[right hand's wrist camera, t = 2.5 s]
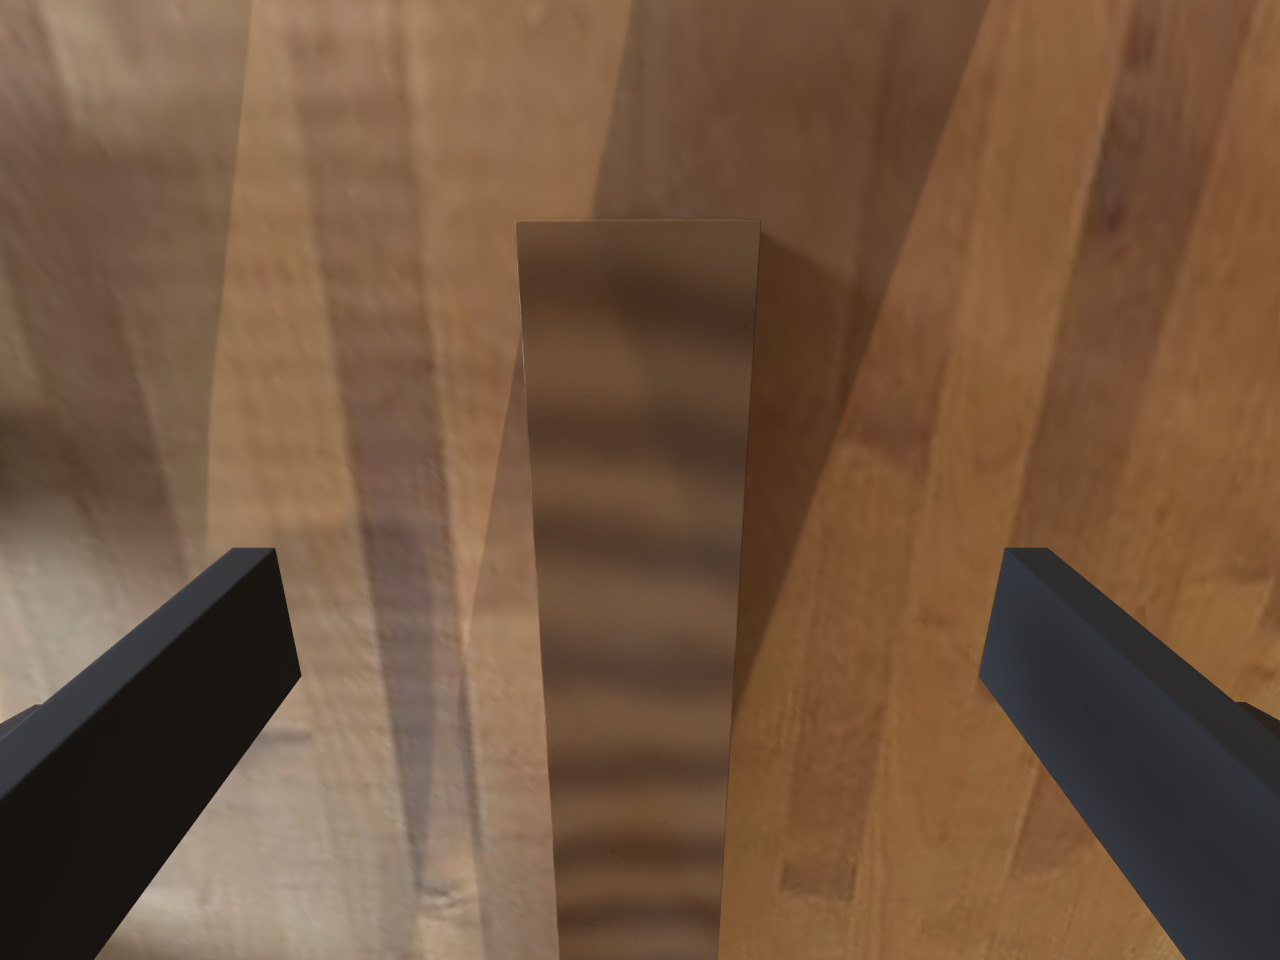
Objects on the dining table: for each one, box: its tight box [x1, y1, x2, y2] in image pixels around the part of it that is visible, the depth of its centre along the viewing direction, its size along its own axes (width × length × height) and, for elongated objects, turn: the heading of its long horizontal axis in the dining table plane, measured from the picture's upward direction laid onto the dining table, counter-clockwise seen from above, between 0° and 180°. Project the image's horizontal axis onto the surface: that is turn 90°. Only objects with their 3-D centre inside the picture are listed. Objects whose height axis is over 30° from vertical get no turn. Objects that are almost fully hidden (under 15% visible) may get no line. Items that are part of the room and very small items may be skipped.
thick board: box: [515, 218, 761, 960], centre depth 39 cm, size 60×9×7 cm, turn 0°
